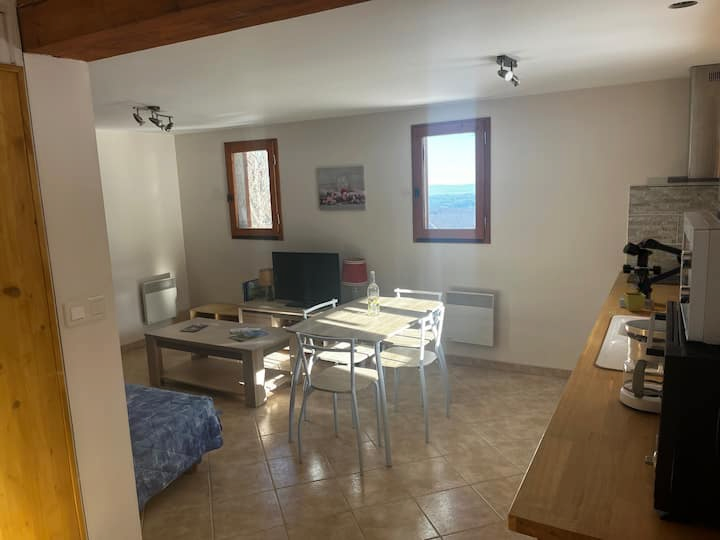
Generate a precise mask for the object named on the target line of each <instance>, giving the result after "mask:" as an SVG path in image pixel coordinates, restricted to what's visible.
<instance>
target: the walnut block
mask: <svg viewBox="0 0 720 540" xmlns="http://www.w3.org/2000/svg"><path fill="white" fill-rule="evenodd" d="M643 308H645V309H644V310H653V309H655V299H654V300H653V299H650V300H648V299H645V303H644V306H643ZM643 308H642V309H643Z"/></svg>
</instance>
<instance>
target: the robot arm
mask: <svg viewBox="0 0 720 540" xmlns="http://www.w3.org/2000/svg"><path fill="white" fill-rule="evenodd" d="M652 250H656V251H657V250H659V251H662V252H665V253H668V254H672V255H675V256H676V261H677V263H676V264H675V265H674V266H672V267H669V268H667V269H666V270H663V271H662V266H661V265H659V264H658V265H657V264H656V265H652V267H649V262H650V261H649V258H650V256H652V255H653V254H654V252H653V251H652ZM682 250H683V249H682V248H678V247H675V246H671V245H667V244H664V243H661V242H659V240H656V239H654V238H649V237H644V238H643V239H641V241H640V242H638V243H636V244H635V243H633V242H631V241H628V243H627V244H625V246H624V247H623V250H622V253H623V254H626V255H628V256H631V257H636V266H632V264H629V263H624V264H622V273H623V274H627V275H628V274H629V275H630V274H631V273H632V272H633V274H634V275H635V276H636V278H634V280H633V281H632V282H633V287H634V288H635V289H636V293H642V294H644V295H645V296H646V297H645V299H648V300H651V297H652V295H651V294H652V293H653V288H652V287H651V286H653V285H654V284H655V283H658V282H661V281H663V280H667V279H668V278H670V277H674V276H676V275H679V274H680V265H681V253H682ZM650 272H652V273H653V274H651V275H650Z"/></svg>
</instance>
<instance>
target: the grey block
mask: <svg viewBox="0 0 720 540" xmlns="http://www.w3.org/2000/svg"><path fill="white" fill-rule="evenodd" d="M619 301H620V302H619V308H620V307H624V308H623V309H627V308H626V306H625V303H624V297H621V298H620V299H619Z"/></svg>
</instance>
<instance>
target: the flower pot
mask: <svg viewBox="0 0 720 540" xmlns="http://www.w3.org/2000/svg"><path fill="white" fill-rule="evenodd" d="M645 297H646V296H645V295H644V294H642V293H637V292H633V291H632V292H629V291H628V292H627V291H625V292H623V298H624V303H625V306H626V308H625V309H627V310H628V311H629V312H641V311H642V310H643V306H644V303H645Z"/></svg>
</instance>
